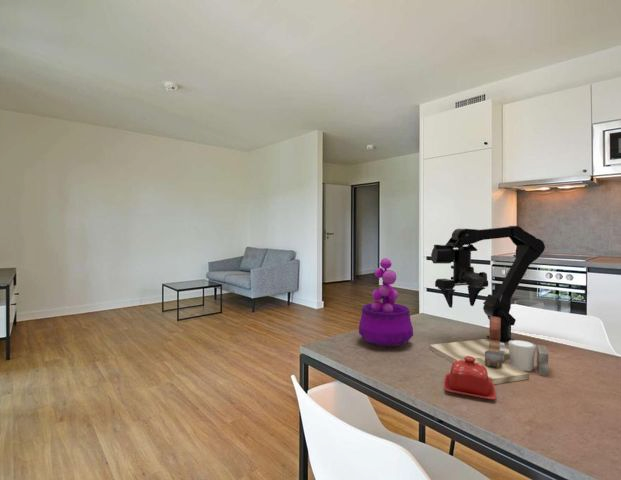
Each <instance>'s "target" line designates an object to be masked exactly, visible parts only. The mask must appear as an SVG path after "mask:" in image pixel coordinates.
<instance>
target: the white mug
mask: <svg viewBox="0 0 621 480" xmlns="http://www.w3.org/2000/svg"><path fill="white" fill-rule="evenodd" d="M508 349H509V355H510V359H509V365H512V366H514V367H516V368H518V369H520V370H522V371H524V372H531V371H533V370H534V362H535V354H536V349H537V344H535V343H533V342H530V341H527V340H521V339H515V340H510V341H508Z"/></svg>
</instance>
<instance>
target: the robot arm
mask: <svg viewBox="0 0 621 480" xmlns="http://www.w3.org/2000/svg"><path fill="white" fill-rule="evenodd" d="M503 238H509V239H510V240H511V242H512V243H513V244H514V245H515V246H516V249H515V259H514V260H513V262H512V264H511V266H510V268H509V270H508V272H507V273H506V275H505V277H504V279H503V281H502V283H501V284H500V286H499V287H498V290H497V291H496V293H494V294H493V295H492V294H490V293H489V294H487V297H486V299H485V301H484V302H483V303H482V304H483V307H482V309H483V312H484V313H485V315H486V316H487V319H488V320H489V321H490V317H499V318H501V329H500V343H507V342H509V341H510V340H516V339H515V338H512V326H515V323H516V321H517V320H516V318H514V316H513V315H512V314H510V312H511V308H512V305H511V304H512V303H511V302H512V298H513V296H514V294H515V293H516V290H517V288H518V286H519V285H520V284H521V282H522V280H523V277H524V276H525V274H526V272H527V270H528V268H529V267H530V265H531V264H532V263H534V262H535V261H536V260H537V259H539V258H540V257H541V255H542V254H544V252H545V249H546V245H545V242H544V241H543V240H542V239H540V238H537V237H536V236H535V235H533V234H531V233H529V232H527V231H525V229H523V228H522V227H521V226H518V225H508V226H503V227H502V226H501V227H493V228H484V229H483V228H482V229H477V228H476V229H475V228H456V229H454V231H452V233H451V237H450V238H449V239H448V241H447V242H446V243H445V244H434V245H433V249H432V250H431V253H430V256H431V258H430V259H431V261H432V263H433V264H443V265H444V264H451V263H452V262H453V265H451V266H450V269H452V270H453V271H452V275H453V276H450V279H448V278H437V279H436V280H435V283H434V287H436V288H437V289H438V290H440V291H441V293H442V294H443V297H444V299H445V301H446V302H447V304H448V308H453V304H454V303H453V298H454V292H456V289H454V288H455V287H456V286H467V291H468V300H469V306H471V307H473V306H475V303H476V300H477V298H478V296H479V293H480V292H481V291H483V290H485V289H486V288H488V287H489V281H488V274H487V272H485V271H480V272H475V268H474V266H472V252H478V249H477V248H476V247H475V246H474V245H473V244H475V243H478V242H481V241H485V240H494V239H503ZM486 337H487V338H489V335H486Z"/></svg>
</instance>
